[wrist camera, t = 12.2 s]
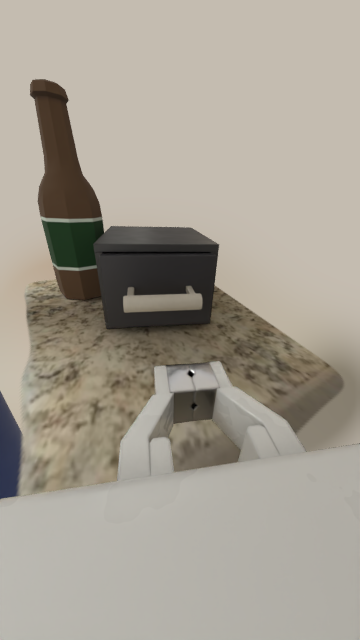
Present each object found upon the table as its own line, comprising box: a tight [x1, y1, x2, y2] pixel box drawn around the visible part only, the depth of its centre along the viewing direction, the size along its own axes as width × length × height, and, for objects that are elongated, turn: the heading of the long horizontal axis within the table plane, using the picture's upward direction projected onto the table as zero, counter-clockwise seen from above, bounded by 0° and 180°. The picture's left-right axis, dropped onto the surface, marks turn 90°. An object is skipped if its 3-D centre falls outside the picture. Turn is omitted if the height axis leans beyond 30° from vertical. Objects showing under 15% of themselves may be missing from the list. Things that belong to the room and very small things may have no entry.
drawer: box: [99, 252, 216, 327], centre depth 27 cm, size 18×11×8 cm, turn 9°
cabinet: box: [93, 226, 219, 329], centre depth 30 cm, size 15×13×10 cm
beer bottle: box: [30, 79, 104, 300], centre depth 30 cm, size 8×8×24 cm
